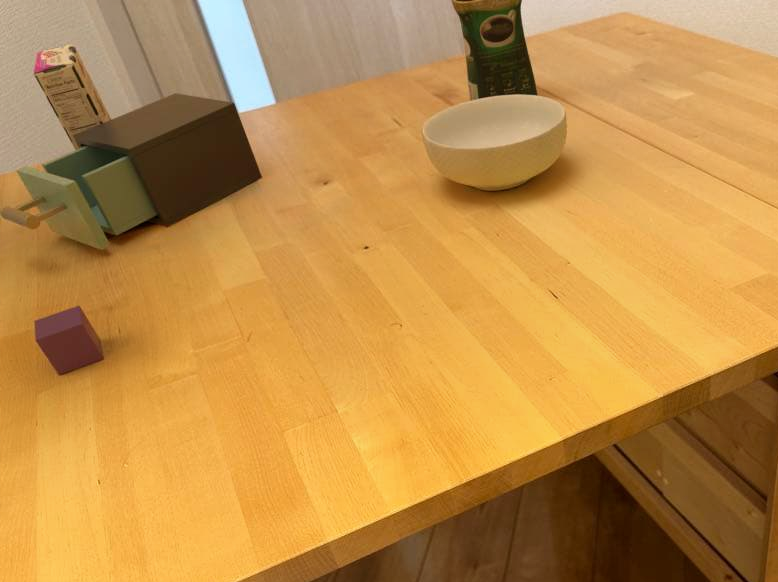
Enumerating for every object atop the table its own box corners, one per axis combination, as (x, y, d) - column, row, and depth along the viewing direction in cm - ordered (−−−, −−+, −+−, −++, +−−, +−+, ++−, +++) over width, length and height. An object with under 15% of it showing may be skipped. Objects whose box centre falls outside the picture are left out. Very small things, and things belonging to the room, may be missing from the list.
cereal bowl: (590, 187, 86) (585, 125, 82) (448, 222, 84) (435, 160, 80) (548, 137, 99) (541, 81, 95) (423, 166, 97) (410, 111, 92)
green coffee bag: (528, 89, 114) (510, -52, 103) (543, 105, 108) (525, -43, 97) (466, 103, 113) (440, -38, 101) (477, 120, 107) (451, -28, 95)
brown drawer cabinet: (167, 227, 92) (129, 149, 86) (111, 209, 99) (72, 135, 93) (262, 177, 101) (234, 102, 95) (205, 163, 107) (175, 93, 101)
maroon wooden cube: (56, 355, 73) (33, 320, 70) (100, 339, 74) (79, 305, 72) (59, 375, 70) (35, 340, 68) (104, 359, 71) (82, 323, 69)
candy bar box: (97, 170, 111) (35, 51, 100) (132, 160, 112) (75, 42, 102) (97, 197, 103) (30, 71, 92) (136, 186, 104) (74, 60, 93)
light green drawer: (62, 270, 85) (23, 204, 80) (14, 249, 91) (-26, 187, 86) (199, 199, 95) (172, 137, 90) (148, 185, 101) (120, 126, 96)
